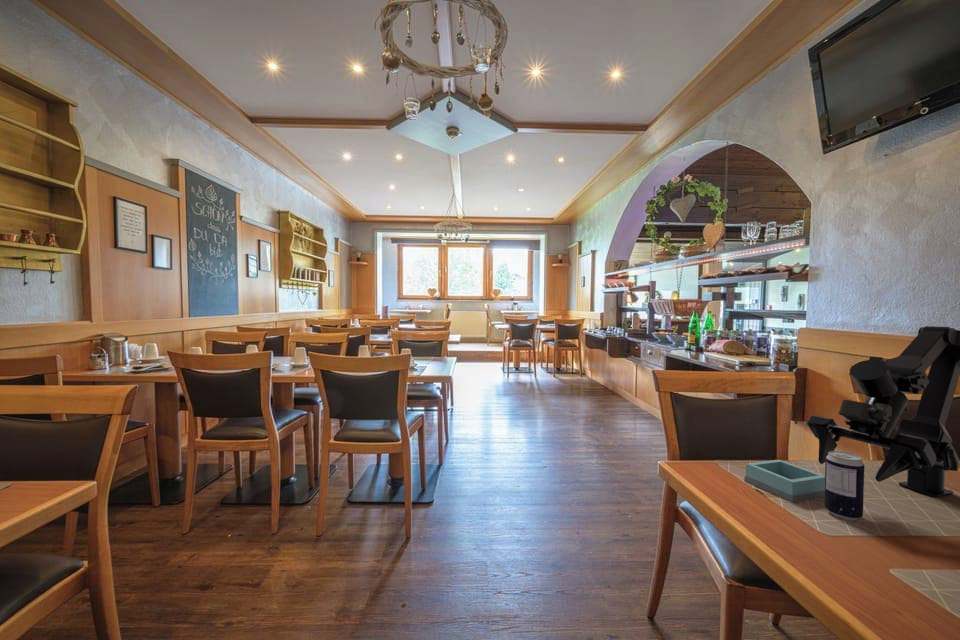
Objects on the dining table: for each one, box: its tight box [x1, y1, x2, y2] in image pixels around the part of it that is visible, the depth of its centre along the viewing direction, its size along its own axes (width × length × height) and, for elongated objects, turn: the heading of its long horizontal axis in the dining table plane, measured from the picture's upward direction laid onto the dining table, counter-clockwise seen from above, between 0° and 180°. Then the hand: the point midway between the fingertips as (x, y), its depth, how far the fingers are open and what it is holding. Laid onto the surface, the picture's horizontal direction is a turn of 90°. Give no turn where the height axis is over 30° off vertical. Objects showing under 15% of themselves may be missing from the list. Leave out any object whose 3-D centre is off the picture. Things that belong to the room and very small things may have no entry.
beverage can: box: [823, 450, 865, 521], centre depth 78 cm, size 6×6×12 cm
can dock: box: [743, 459, 825, 503], centre depth 90 cm, size 11×11×4 cm
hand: (847, 471), depth 78 cm, fingers open, 9 cm apart
